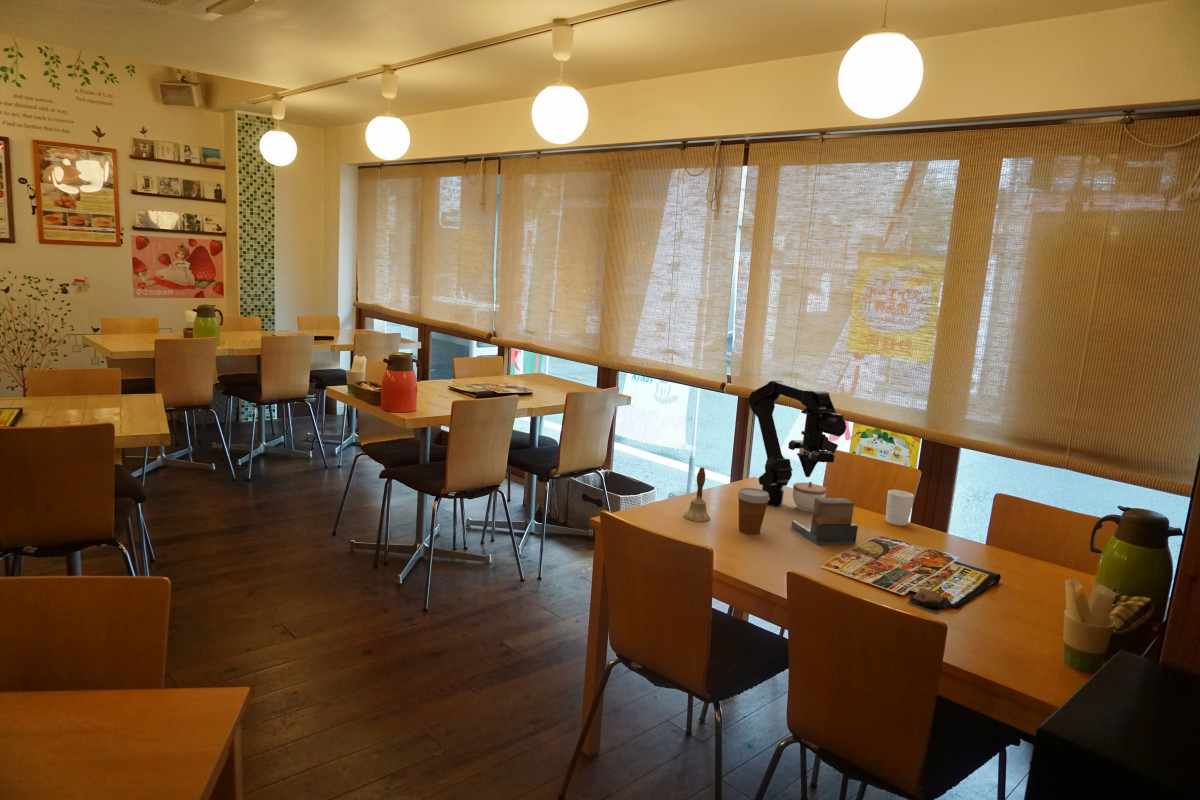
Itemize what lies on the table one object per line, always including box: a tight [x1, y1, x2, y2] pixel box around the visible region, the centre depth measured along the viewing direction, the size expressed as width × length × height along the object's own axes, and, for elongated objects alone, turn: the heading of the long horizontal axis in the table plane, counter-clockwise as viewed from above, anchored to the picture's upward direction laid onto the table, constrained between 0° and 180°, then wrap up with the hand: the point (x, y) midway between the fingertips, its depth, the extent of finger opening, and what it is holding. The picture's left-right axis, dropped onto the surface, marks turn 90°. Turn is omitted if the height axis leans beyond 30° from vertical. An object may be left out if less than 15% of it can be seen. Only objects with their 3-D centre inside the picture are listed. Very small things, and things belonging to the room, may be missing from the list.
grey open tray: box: [790, 520, 859, 546], centre depth 229 cm, size 15×13×6 cm
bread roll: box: [906, 588, 953, 615], centre depth 185 cm, size 11×8×4 cm
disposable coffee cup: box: [737, 487, 770, 535], centre depth 227 cm, size 10×10×12 cm
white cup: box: [885, 489, 915, 527], centre depth 249 cm, size 8×8×10 cm
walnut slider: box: [810, 497, 855, 534], centre depth 225 cm, size 5×10×11 cm, turn 106°
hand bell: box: [682, 467, 711, 523], centre depth 235 cm, size 8×8×16 cm
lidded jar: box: [792, 481, 827, 513], centre depth 255 cm, size 11×11×9 cm
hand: (807, 477), depth 246 cm, fingers closed
